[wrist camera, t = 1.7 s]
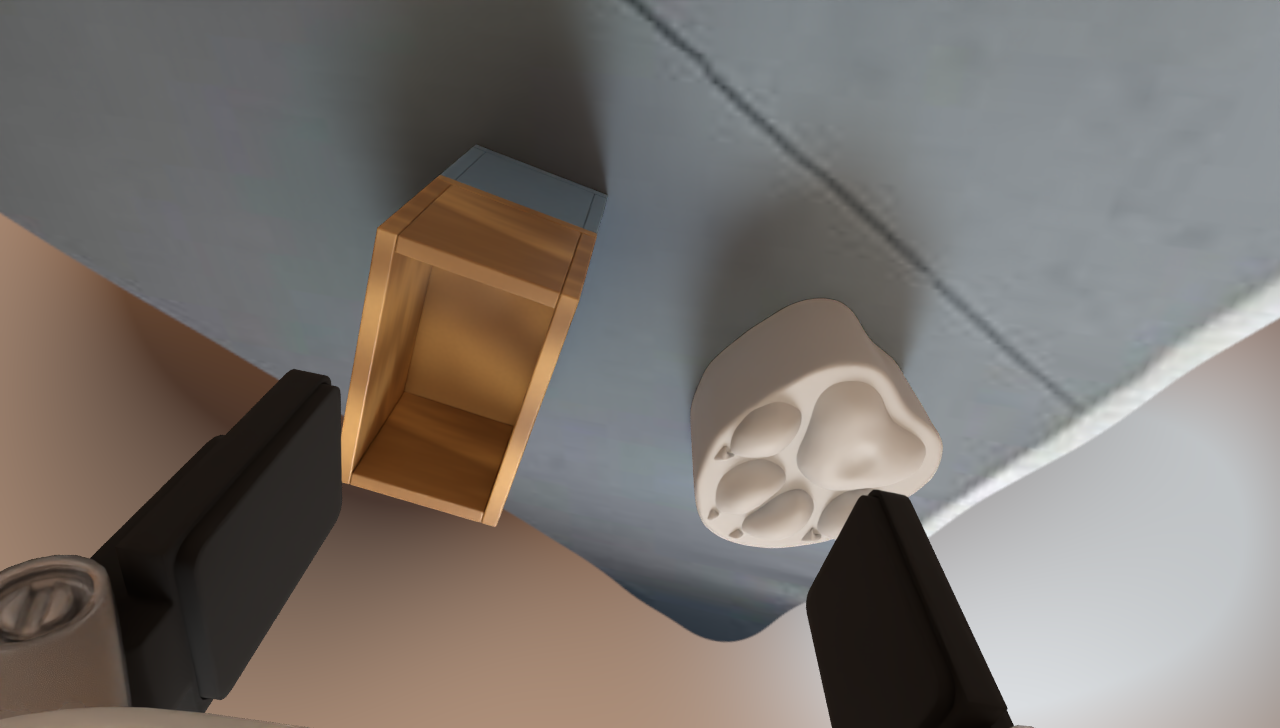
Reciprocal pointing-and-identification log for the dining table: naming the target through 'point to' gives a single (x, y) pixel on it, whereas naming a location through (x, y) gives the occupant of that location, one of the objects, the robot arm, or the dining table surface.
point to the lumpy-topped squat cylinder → (804, 429)
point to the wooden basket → (458, 346)
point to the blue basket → (529, 187)
